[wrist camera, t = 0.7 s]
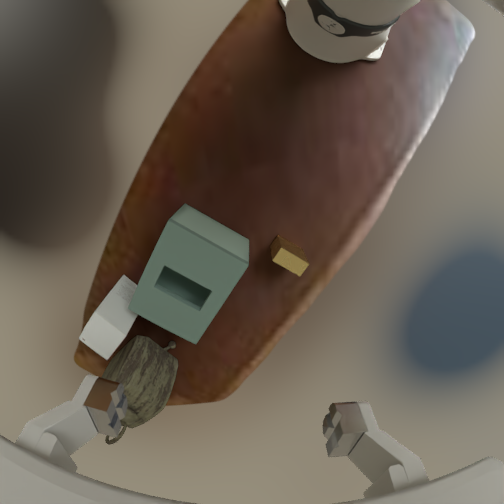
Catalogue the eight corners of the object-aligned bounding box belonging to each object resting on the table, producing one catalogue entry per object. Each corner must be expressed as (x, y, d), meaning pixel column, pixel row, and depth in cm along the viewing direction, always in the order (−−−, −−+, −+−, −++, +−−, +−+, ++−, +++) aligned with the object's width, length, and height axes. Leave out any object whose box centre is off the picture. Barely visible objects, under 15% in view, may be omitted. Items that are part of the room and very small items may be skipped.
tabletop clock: (147, 372, 60) (115, 462, 37) (115, 348, 57) (71, 435, 34) (185, 342, 56) (157, 446, 33) (150, 314, 54) (103, 413, 31)
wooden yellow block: (277, 234, 48) (281, 247, 42) (302, 249, 49) (309, 264, 43) (270, 246, 49) (272, 260, 43) (294, 260, 50) (300, 276, 44)
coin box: (184, 203, 46) (168, 220, 37) (249, 239, 48) (248, 265, 39) (146, 279, 51) (127, 308, 42) (204, 310, 53) (195, 344, 44)
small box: (131, 319, 54) (107, 361, 42) (106, 300, 53) (77, 338, 41) (150, 294, 52) (126, 336, 40) (124, 273, 51) (93, 310, 38)
